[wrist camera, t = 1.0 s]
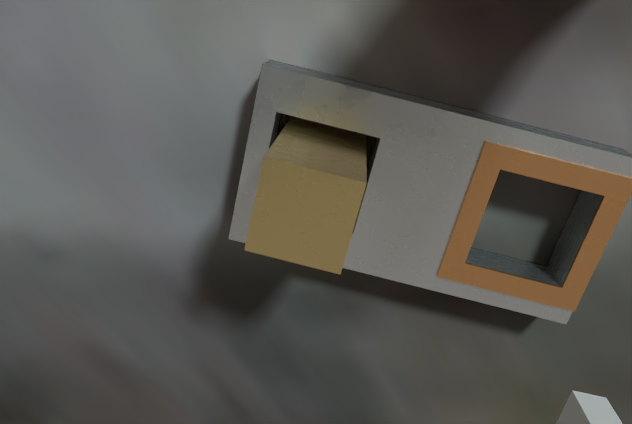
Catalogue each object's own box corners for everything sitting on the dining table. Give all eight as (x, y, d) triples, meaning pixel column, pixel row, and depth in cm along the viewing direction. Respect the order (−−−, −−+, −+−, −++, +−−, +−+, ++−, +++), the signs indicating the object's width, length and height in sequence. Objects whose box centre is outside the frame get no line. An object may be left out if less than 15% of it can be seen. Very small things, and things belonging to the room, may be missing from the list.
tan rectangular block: (275, 187, 32) (244, 250, 24) (291, 116, 31) (263, 156, 22) (347, 206, 32) (340, 274, 24) (366, 135, 31) (366, 182, 22)
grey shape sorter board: (237, 222, 33) (227, 240, 31) (270, 59, 30) (261, 64, 27) (552, 302, 33) (567, 326, 31) (622, 148, 30) (646, 161, 27)
